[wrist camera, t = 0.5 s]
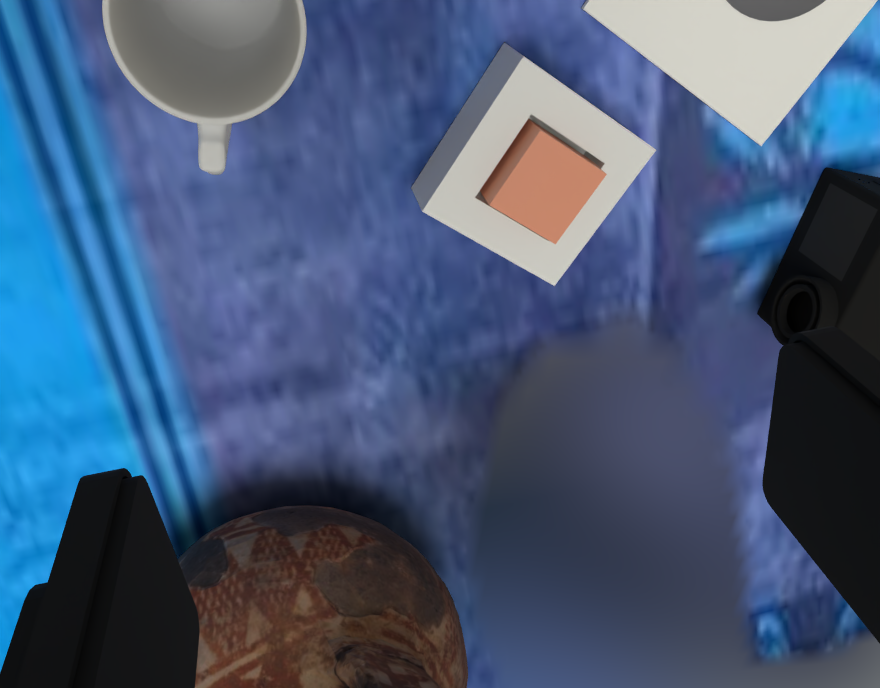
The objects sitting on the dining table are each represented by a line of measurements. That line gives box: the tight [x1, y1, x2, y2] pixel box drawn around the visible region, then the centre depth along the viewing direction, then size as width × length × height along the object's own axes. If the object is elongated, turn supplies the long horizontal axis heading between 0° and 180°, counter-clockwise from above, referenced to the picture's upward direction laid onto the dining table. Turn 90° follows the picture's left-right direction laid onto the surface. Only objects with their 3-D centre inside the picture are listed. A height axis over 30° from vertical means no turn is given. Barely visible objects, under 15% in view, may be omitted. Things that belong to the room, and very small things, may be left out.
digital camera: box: [758, 168, 880, 361], centre depth 49 cm, size 10×5×7 cm, turn 166°
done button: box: [480, 118, 607, 244], centre depth 42 cm, size 4×4×2 cm
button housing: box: [411, 42, 656, 286], centre depth 43 cm, size 9×9×4 cm
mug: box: [102, 0, 306, 175], centre depth 33 cm, size 10×7×12 cm, turn 172°
